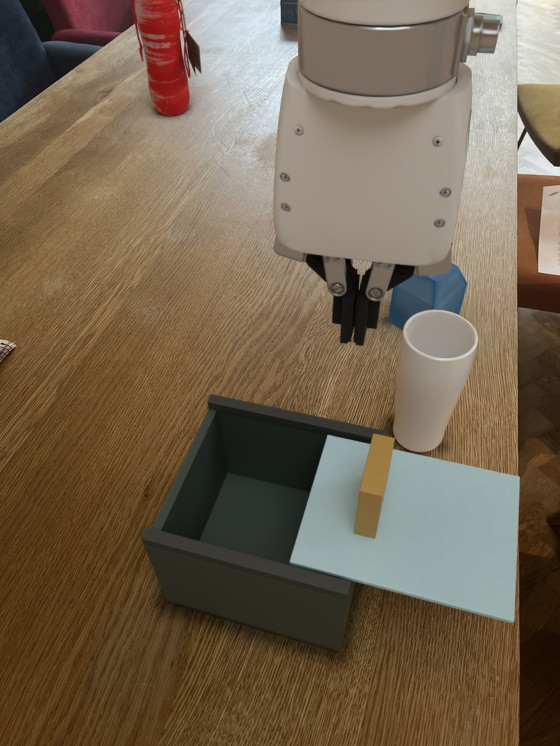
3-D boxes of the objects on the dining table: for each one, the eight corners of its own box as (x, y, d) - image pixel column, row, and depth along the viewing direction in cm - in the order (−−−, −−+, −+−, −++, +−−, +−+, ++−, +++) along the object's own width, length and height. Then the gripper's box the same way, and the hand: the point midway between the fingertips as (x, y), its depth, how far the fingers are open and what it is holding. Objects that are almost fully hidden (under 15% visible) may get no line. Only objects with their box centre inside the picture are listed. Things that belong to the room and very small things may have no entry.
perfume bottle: (426, 345, 75) (443, 266, 66) (388, 320, 78) (398, 242, 69) (457, 321, 77) (477, 242, 69) (419, 298, 81) (433, 220, 72)
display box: (372, 504, 60) (384, 430, 51) (340, 653, 51) (347, 594, 42) (223, 468, 63) (210, 393, 55) (167, 603, 54) (140, 538, 45)
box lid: (518, 479, 49) (541, 430, 44) (512, 624, 41) (540, 583, 36) (327, 437, 52) (329, 387, 47) (289, 564, 44) (287, 520, 40)
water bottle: (214, 102, 123) (198, -45, 104) (205, 120, 117) (187, -32, 99) (155, 100, 124) (130, -46, 105) (144, 118, 119) (115, -32, 100)
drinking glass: (379, 451, 64) (395, 351, 53) (392, 404, 69) (409, 302, 58) (444, 467, 63) (474, 368, 52) (453, 418, 67) (483, 316, 56)
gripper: (543, 22, 29) (468, 309, 43) (244, 8, 32) (262, 283, 46) (553, 87, 25) (465, 387, 38) (200, 65, 27) (234, 353, 41)
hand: (354, 330), depth 42 cm, fingers closed
